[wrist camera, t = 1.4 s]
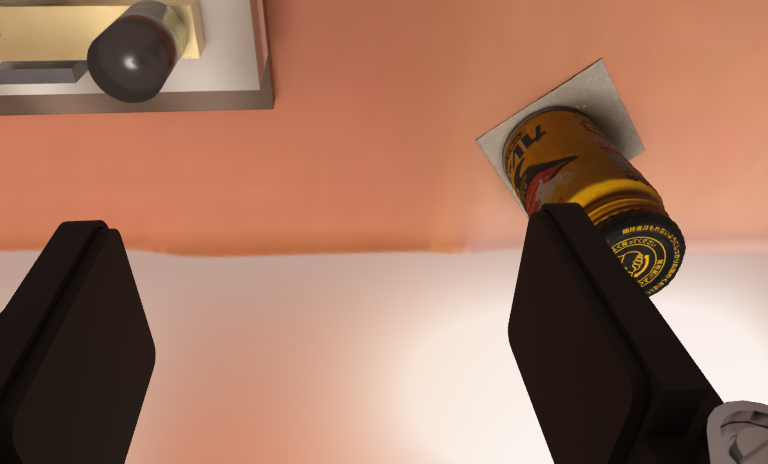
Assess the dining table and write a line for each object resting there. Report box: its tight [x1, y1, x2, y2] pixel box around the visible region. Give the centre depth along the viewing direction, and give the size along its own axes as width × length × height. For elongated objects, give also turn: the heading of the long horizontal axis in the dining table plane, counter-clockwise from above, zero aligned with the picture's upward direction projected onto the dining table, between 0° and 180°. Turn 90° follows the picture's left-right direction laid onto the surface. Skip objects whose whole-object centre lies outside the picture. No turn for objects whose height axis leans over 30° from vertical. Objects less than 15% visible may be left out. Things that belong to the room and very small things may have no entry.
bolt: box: [0, 0, 206, 103], centre depth 20 cm, size 8×2×6 cm, turn 89°
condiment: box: [476, 59, 686, 297], centre depth 31 cm, size 7×8×12 cm
